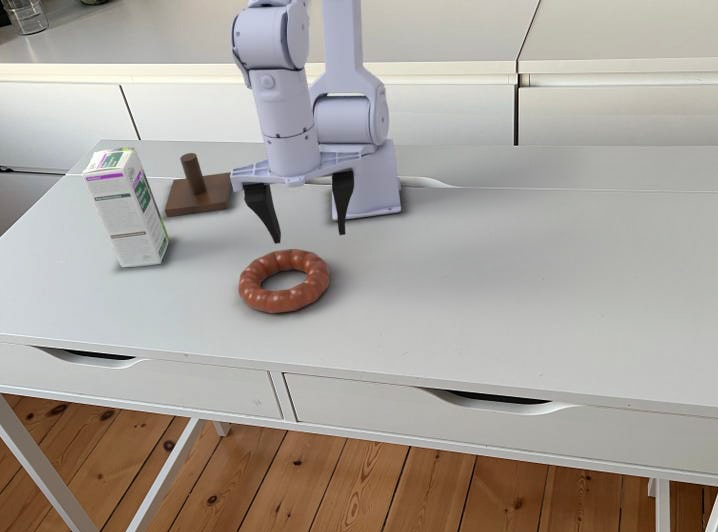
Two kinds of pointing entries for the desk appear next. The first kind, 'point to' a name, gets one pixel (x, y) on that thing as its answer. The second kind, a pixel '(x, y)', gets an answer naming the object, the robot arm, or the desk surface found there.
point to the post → (197, 190)
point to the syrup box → (126, 206)
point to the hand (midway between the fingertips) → (310, 234)
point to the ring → (289, 297)
